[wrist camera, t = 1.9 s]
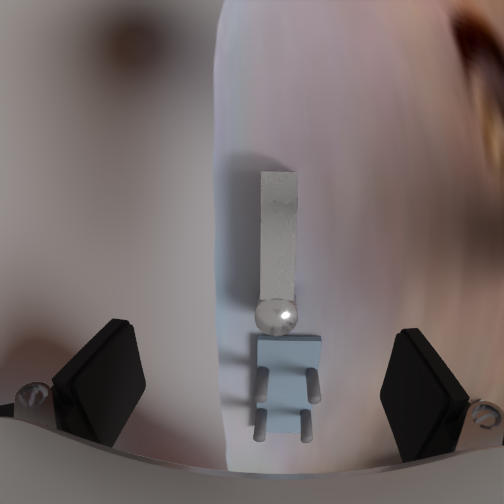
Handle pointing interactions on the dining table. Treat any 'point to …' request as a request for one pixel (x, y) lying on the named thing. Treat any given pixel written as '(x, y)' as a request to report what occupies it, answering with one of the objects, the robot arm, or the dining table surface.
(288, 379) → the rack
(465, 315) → the dining table surface
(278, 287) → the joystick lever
